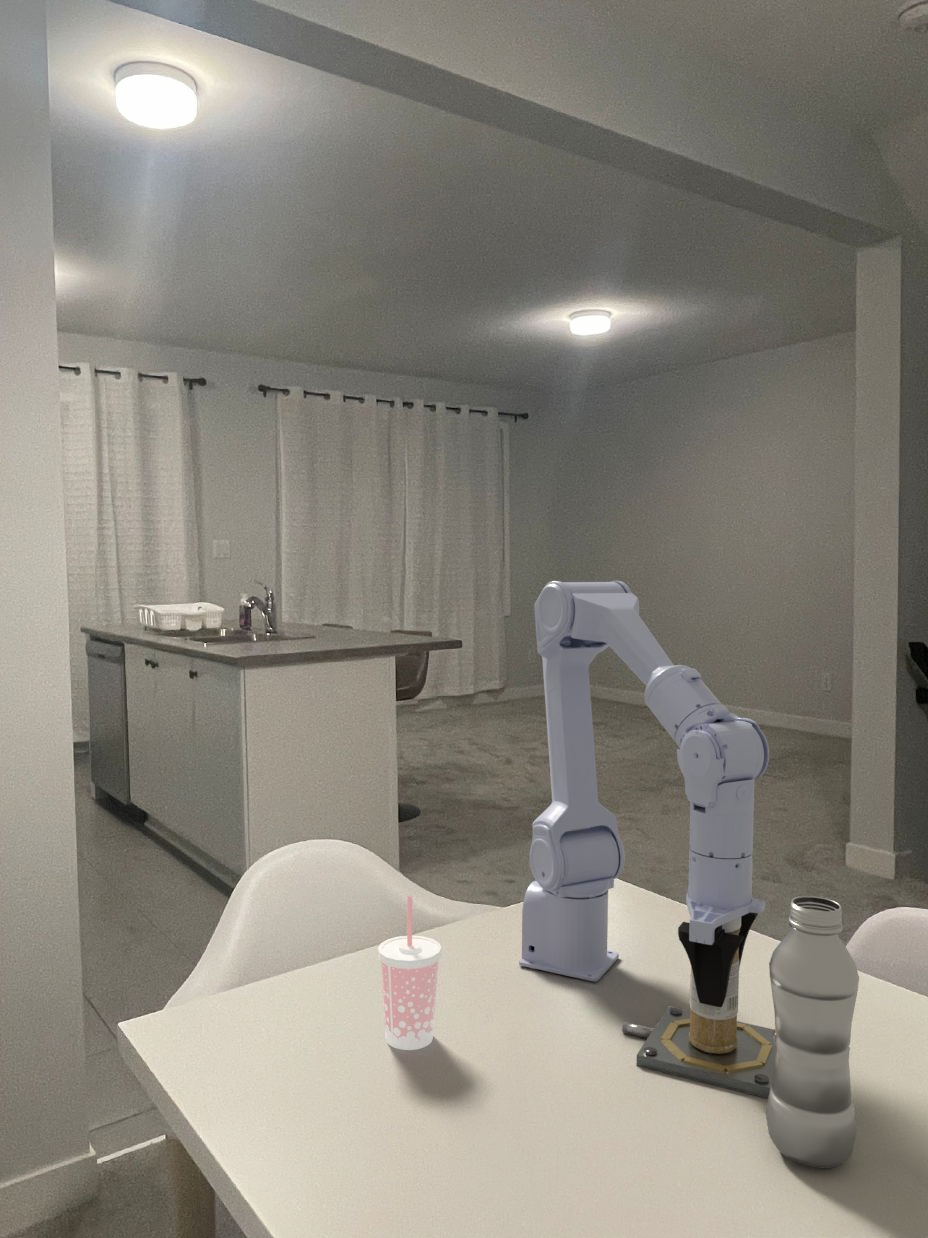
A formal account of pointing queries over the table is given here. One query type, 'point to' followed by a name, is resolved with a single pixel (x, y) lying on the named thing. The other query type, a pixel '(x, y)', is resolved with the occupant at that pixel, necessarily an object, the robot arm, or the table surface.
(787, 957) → the plastic bottle
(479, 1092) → the table surface
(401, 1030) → the beverage cup
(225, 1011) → the table surface
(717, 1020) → the sprinkles bottle
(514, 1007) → the table surface
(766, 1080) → the octagon fixture plate
